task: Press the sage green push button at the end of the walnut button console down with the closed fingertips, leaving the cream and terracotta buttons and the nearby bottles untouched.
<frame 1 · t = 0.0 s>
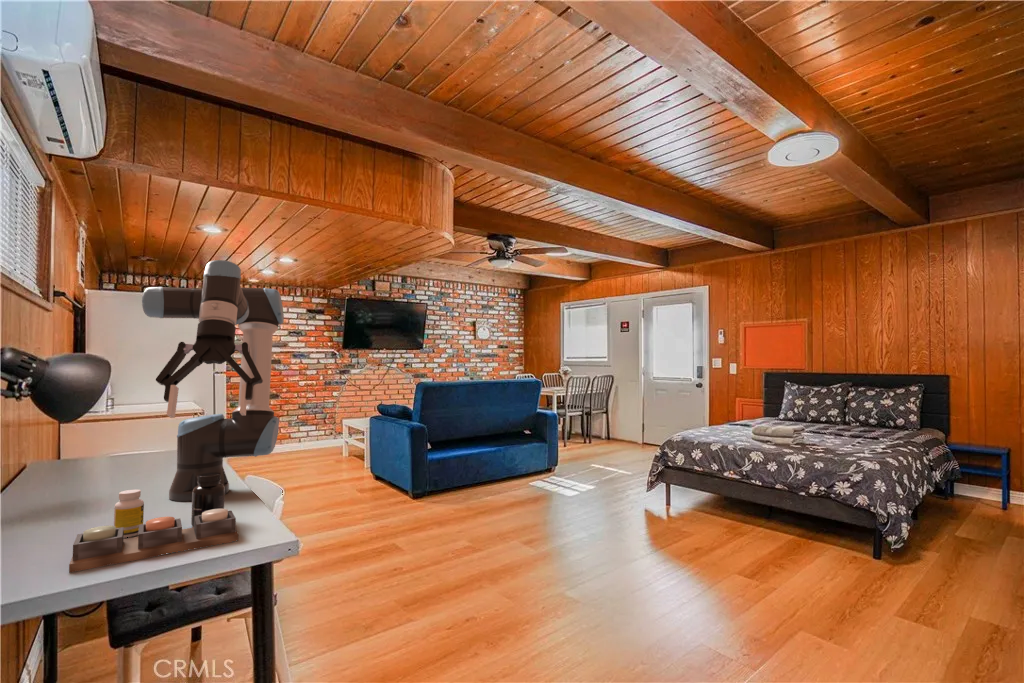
hand: (207, 415, 108), 28 cm above the table, tool tilted 20°, fingers open, 13 cm apart
supplement bottle: (207, 524, 122), on the table
terracotta button: (160, 525, 107), point 4 cm above the table, slide at 0.0 cm
sage button: (99, 535, 101), point 4 cm above the table, slide at 0.0 cm
supplement bottle 2: (128, 535, 114), on the table
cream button: (214, 517, 112), point 4 cm above the table, slide at 0.0 cm
console: (159, 547, 106), on the table
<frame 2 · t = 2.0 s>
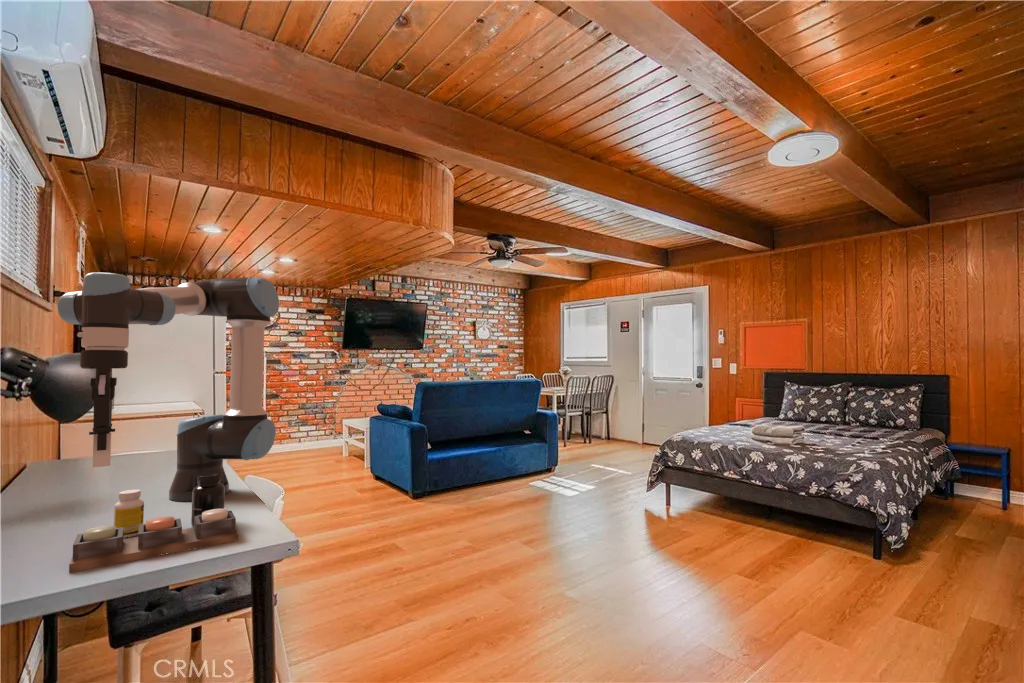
hand: (101, 465, 101), 18 cm above the table, tool pointing down, fingers closed
nothing on the table moved.
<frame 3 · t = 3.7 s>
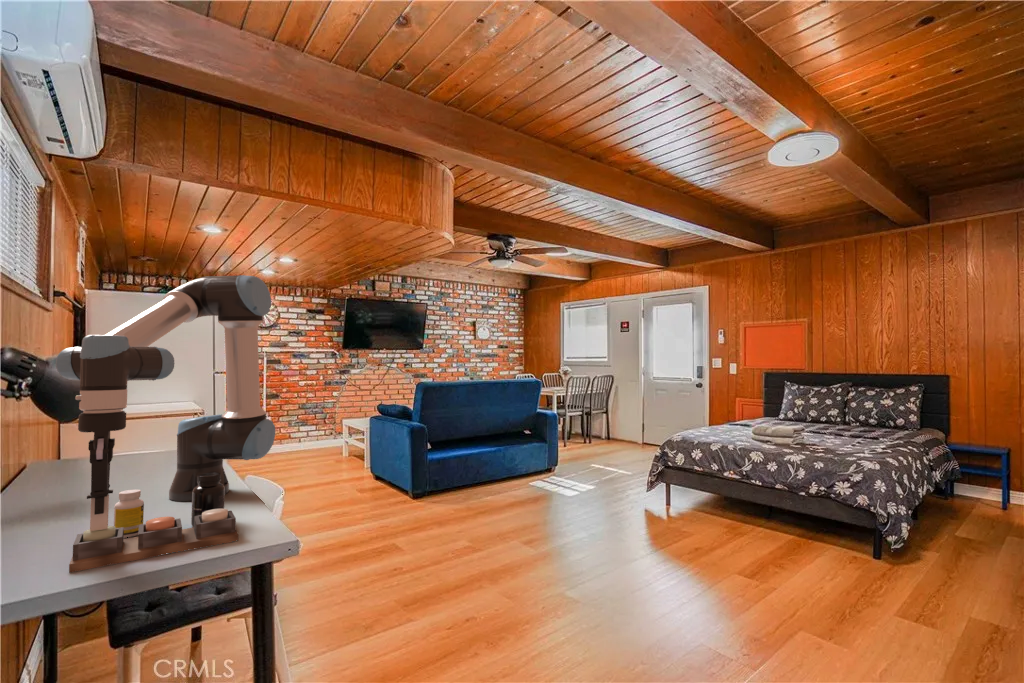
hand: (99, 528, 101), 6 cm above the table, tool pointing down, fingers closed
sage button: (99, 536, 101), point 4 cm above the table, slide at 0.1 cm, touching gripper
everything else where it was.
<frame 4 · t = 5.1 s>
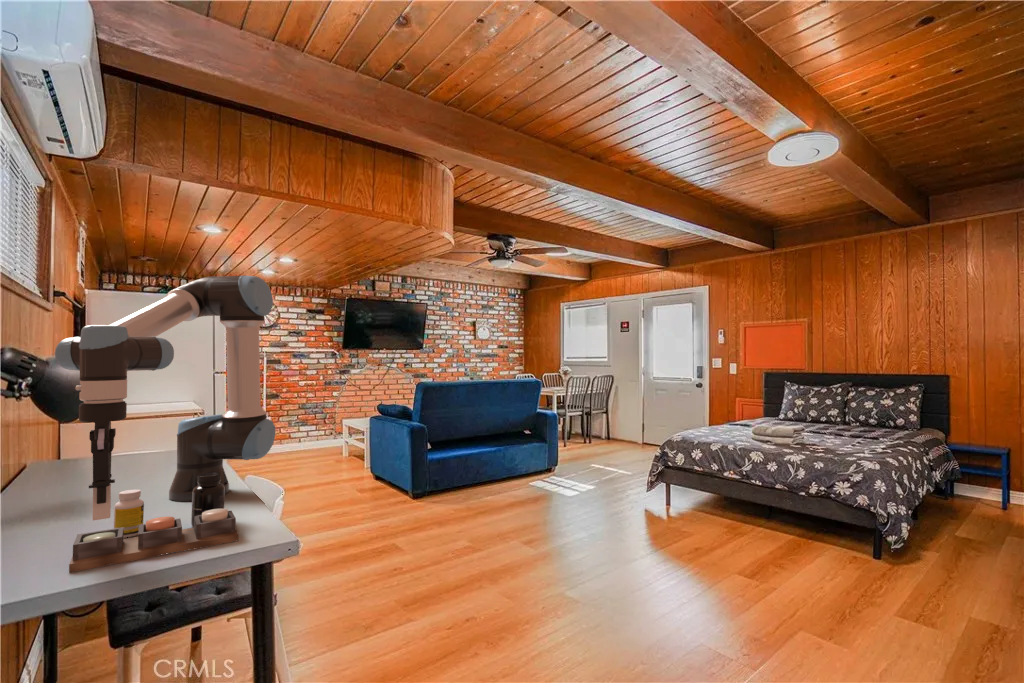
hand: (101, 518, 101), 8 cm above the table, tool pointing down, fingers closed
sage button: (99, 542, 101), point 3 cm above the table, slide at 1.4 cm
everything else where it was.
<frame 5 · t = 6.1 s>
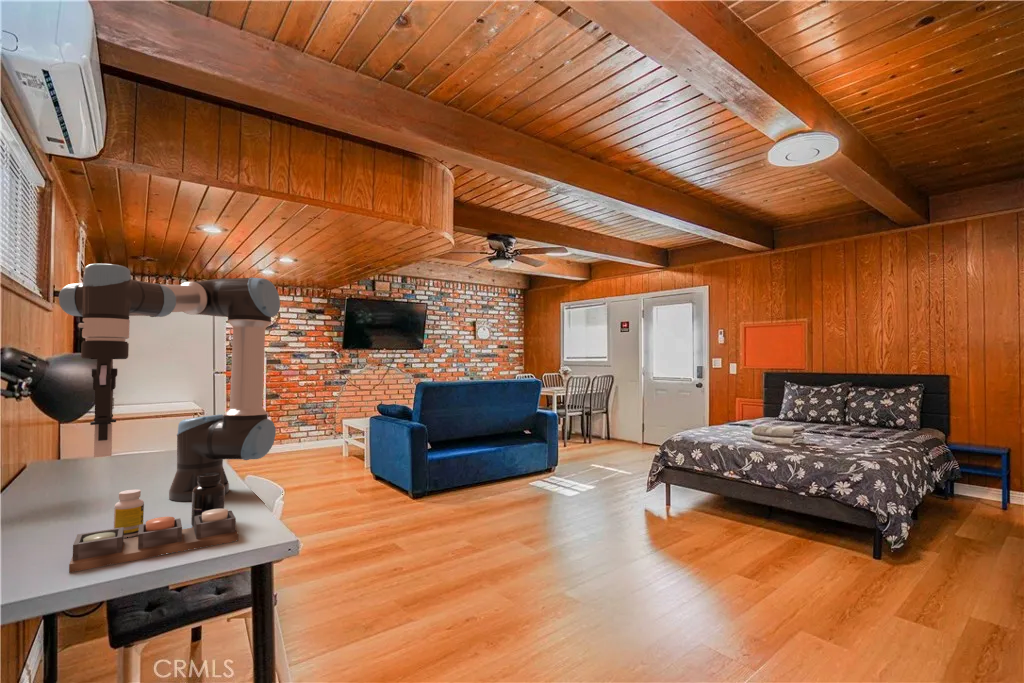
hand: (102, 456, 102), 20 cm above the table, tool pointing down, fingers closed
nothing on the table moved.
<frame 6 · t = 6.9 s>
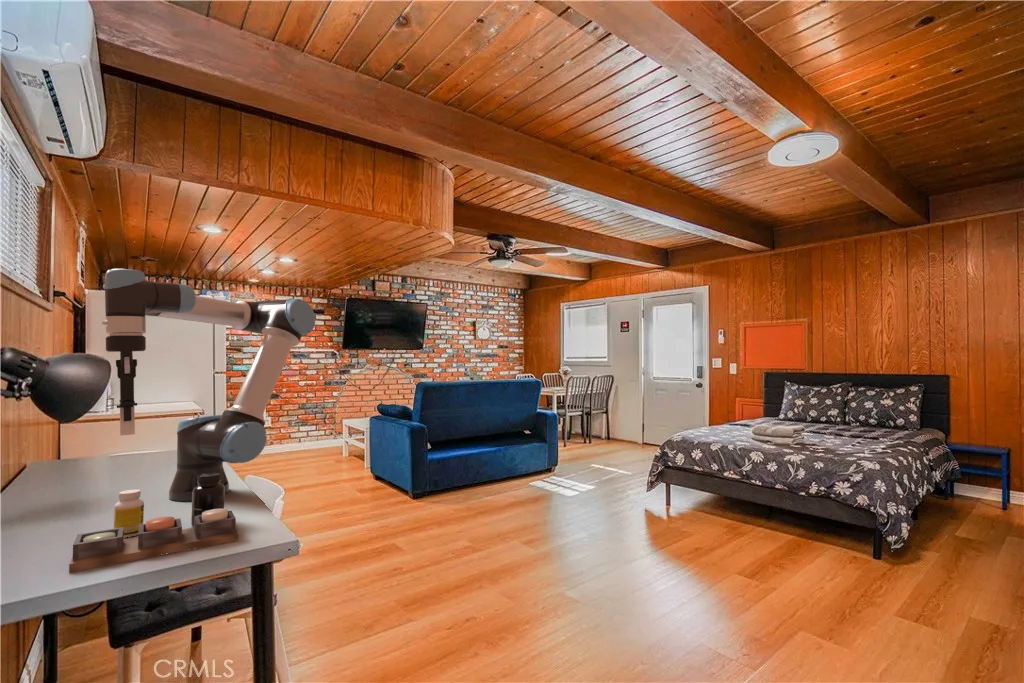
hand: (127, 434, 119), 22 cm above the table, tool pointing down, fingers closed
nothing on the table moved.
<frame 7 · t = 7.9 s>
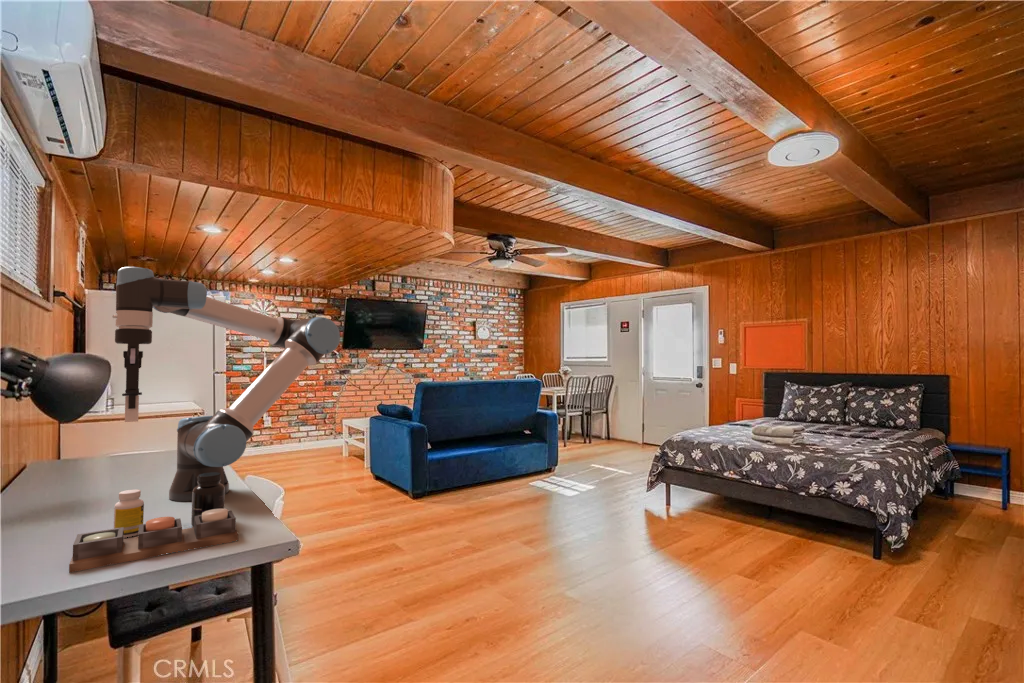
hand: (131, 421, 127), 24 cm above the table, tool pointing down, fingers closed
nothing on the table moved.
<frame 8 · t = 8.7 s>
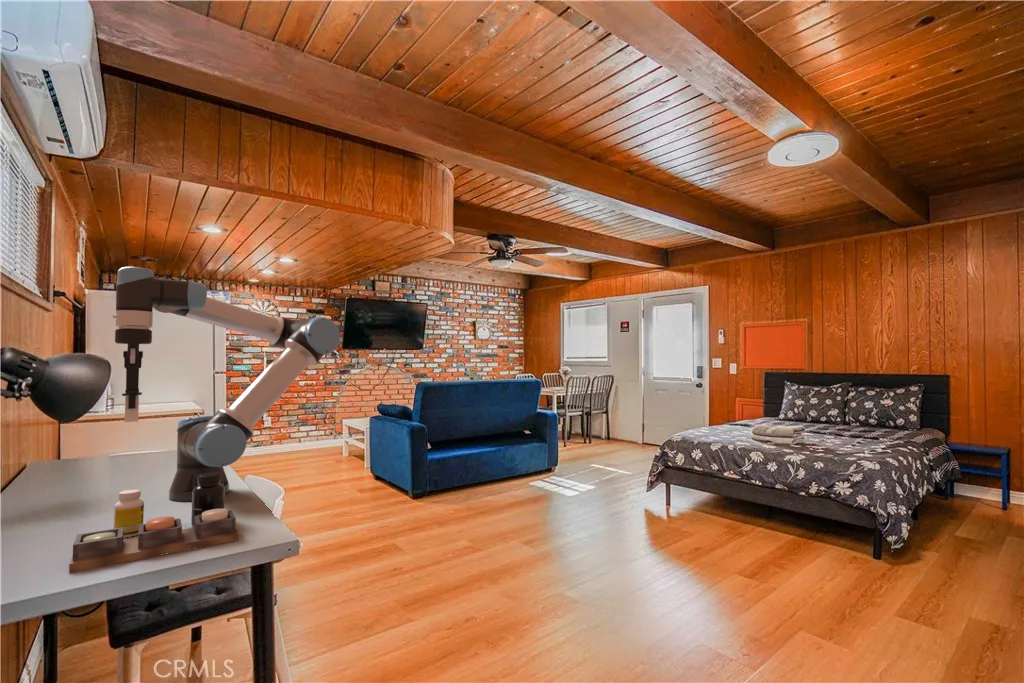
hand: (131, 421, 127), 24 cm above the table, tool pointing down, fingers closed
nothing on the table moved.
at the end: sage button slide at 1.4 cm; terracotta button slide at 0.0 cm; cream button slide at 0.0 cm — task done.
